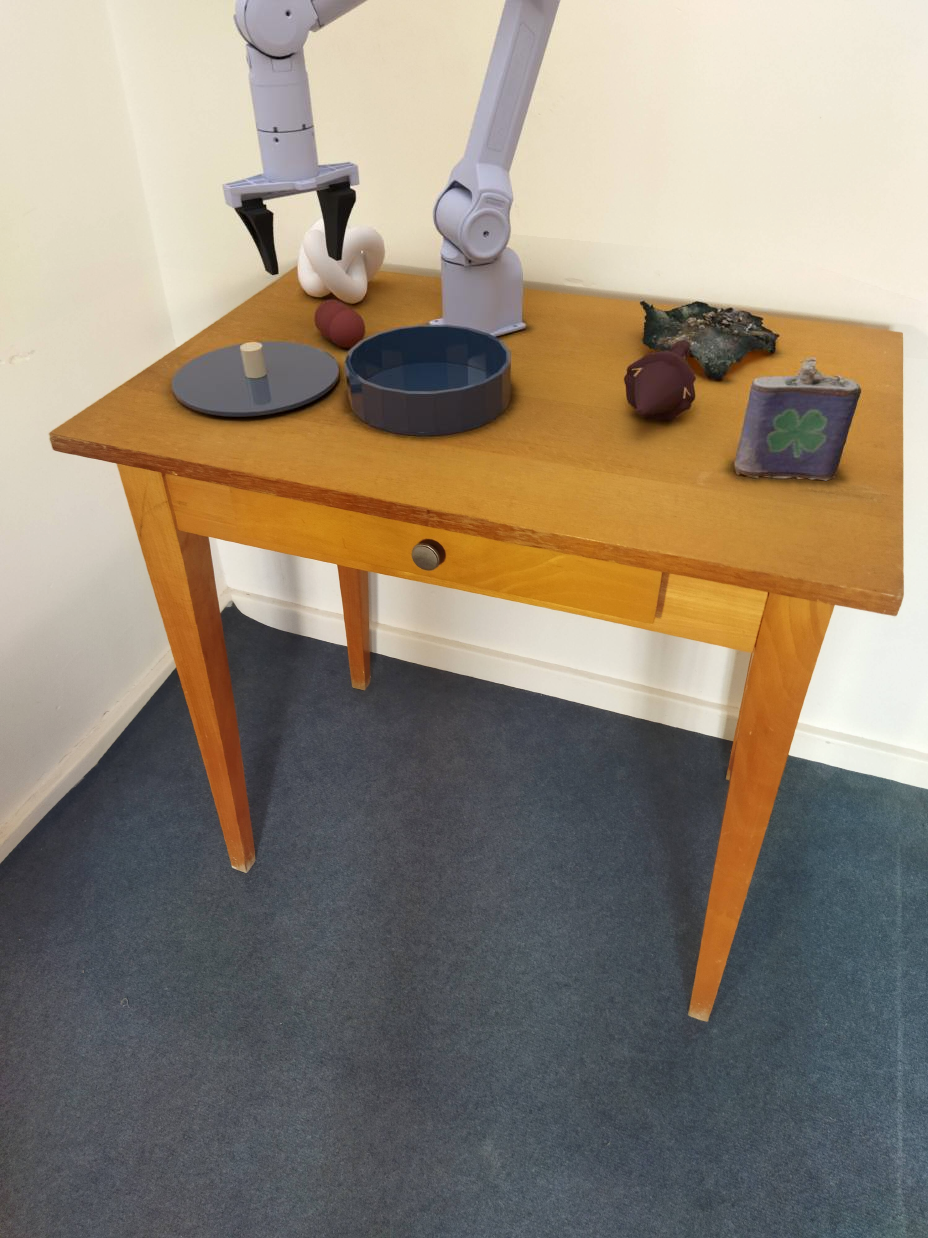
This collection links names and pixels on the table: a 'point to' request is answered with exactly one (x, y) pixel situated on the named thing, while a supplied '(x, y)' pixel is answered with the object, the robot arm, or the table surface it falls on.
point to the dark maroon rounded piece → (661, 383)
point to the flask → (796, 425)
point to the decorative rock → (708, 334)
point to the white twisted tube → (340, 263)
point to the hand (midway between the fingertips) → (304, 264)
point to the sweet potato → (339, 323)
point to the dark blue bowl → (428, 379)
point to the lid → (255, 378)
